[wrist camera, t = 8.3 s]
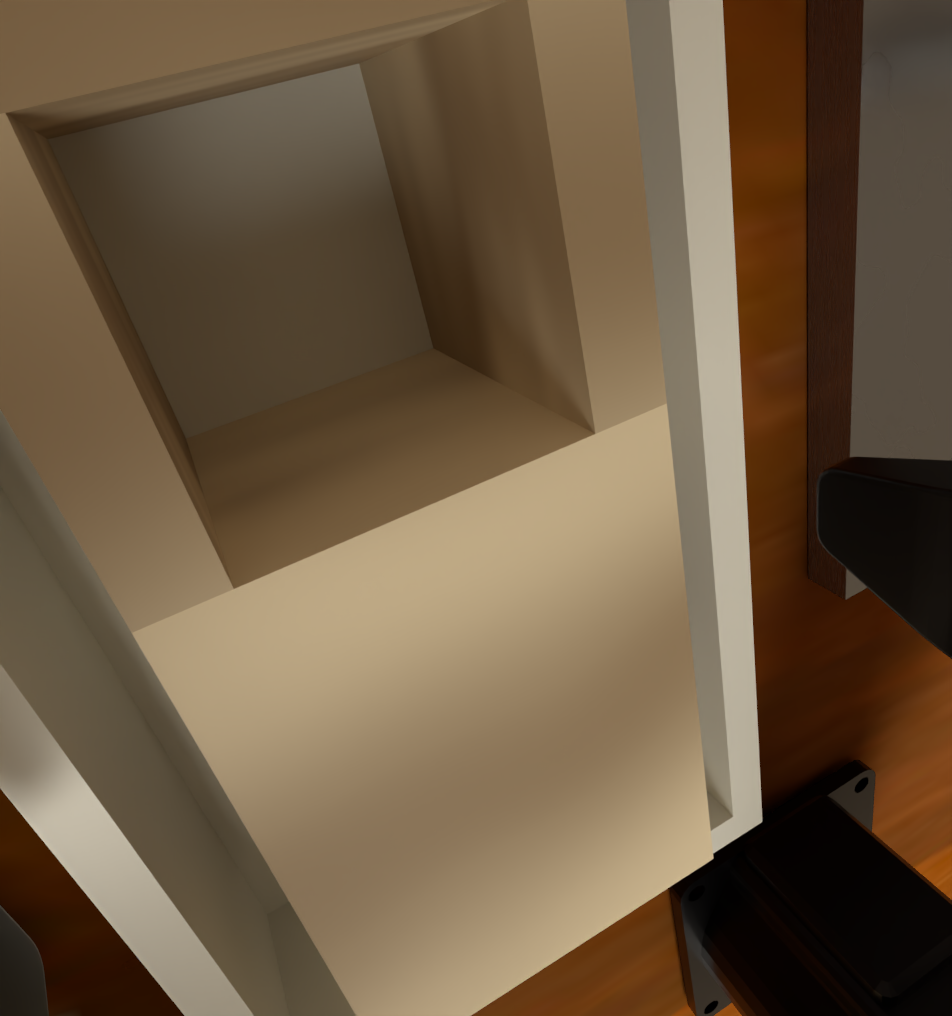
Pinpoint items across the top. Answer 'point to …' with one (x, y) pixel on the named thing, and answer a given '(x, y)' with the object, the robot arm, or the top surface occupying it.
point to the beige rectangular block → (394, 487)
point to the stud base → (877, 241)
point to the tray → (289, 375)
